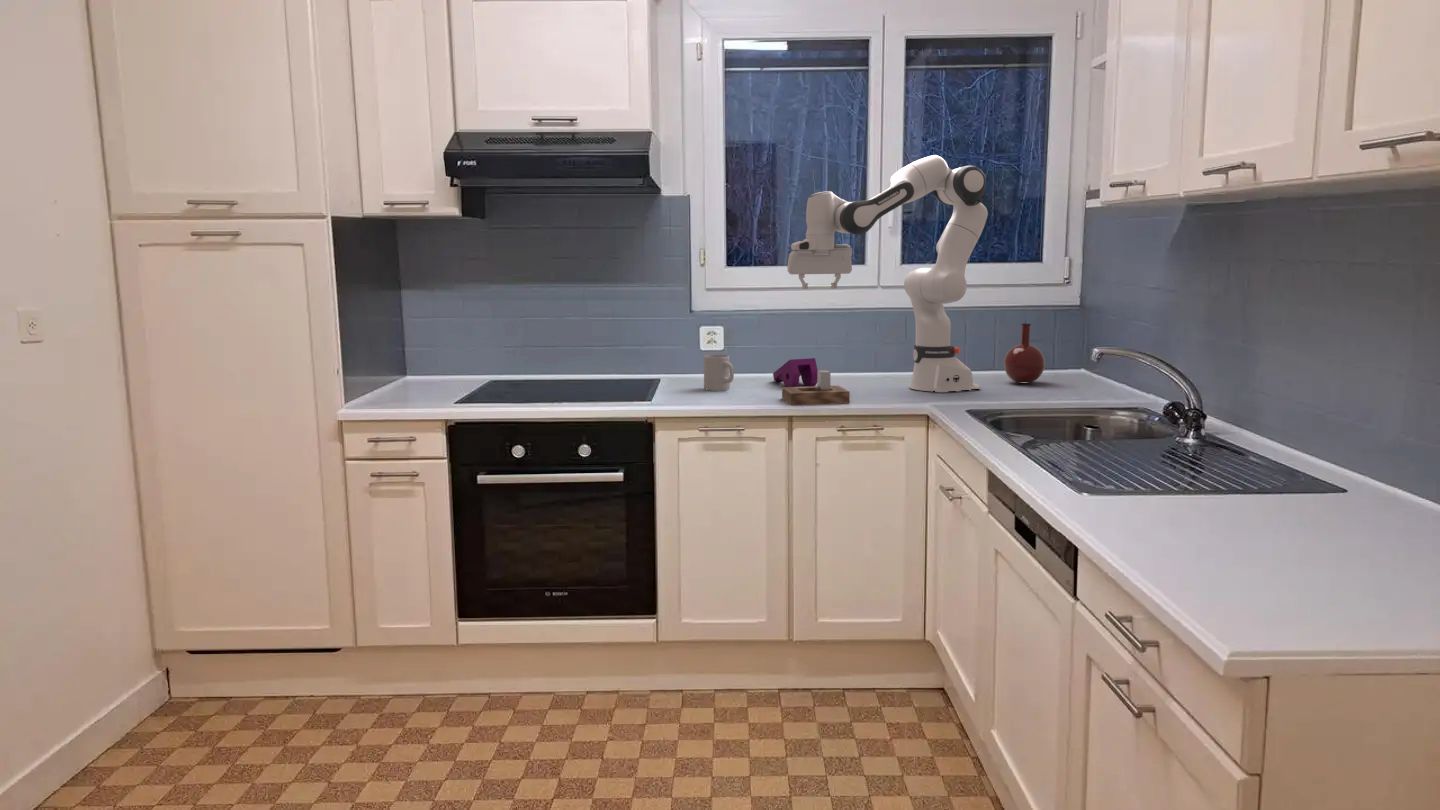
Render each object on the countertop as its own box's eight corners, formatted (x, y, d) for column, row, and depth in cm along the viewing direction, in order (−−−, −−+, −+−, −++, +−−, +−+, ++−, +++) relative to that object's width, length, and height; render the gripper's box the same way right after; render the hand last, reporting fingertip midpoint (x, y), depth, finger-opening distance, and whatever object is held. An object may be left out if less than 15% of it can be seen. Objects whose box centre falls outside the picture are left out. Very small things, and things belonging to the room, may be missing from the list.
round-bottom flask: (1043, 381, 335) (1046, 322, 332) (1044, 387, 323) (1047, 326, 319) (1003, 379, 339) (1005, 321, 335) (1003, 385, 326) (1005, 325, 323)
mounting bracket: (773, 400, 338) (794, 384, 321) (768, 376, 340) (789, 359, 323) (798, 398, 341) (820, 382, 325) (793, 375, 343) (815, 358, 327)
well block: (838, 396, 308) (838, 385, 307) (849, 402, 296) (849, 391, 295) (782, 398, 305) (782, 387, 304) (791, 405, 293) (791, 393, 292)
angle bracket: (826, 399, 303) (826, 370, 301) (830, 401, 299) (830, 372, 297) (801, 400, 302) (801, 371, 300) (804, 402, 298) (804, 372, 296)
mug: (698, 389, 324) (698, 356, 322) (717, 386, 330) (717, 353, 328) (723, 393, 316) (723, 359, 314) (742, 390, 321) (742, 356, 319)
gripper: (849, 243, 312) (848, 287, 315) (786, 244, 309) (786, 288, 311) (855, 244, 306) (854, 288, 308) (790, 244, 303) (790, 289, 305)
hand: (819, 288), depth 310 cm, fingers open, 8 cm apart
